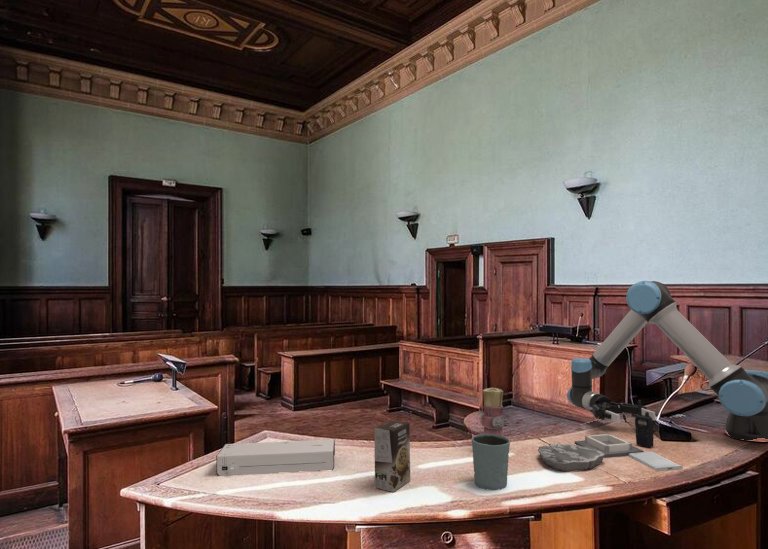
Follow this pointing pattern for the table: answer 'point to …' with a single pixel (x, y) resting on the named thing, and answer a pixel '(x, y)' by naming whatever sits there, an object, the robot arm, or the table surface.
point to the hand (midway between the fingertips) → (636, 417)
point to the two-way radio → (644, 428)
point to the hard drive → (655, 461)
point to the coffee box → (392, 455)
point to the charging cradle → (609, 445)
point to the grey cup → (490, 460)
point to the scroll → (492, 411)
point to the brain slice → (570, 457)
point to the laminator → (275, 457)
